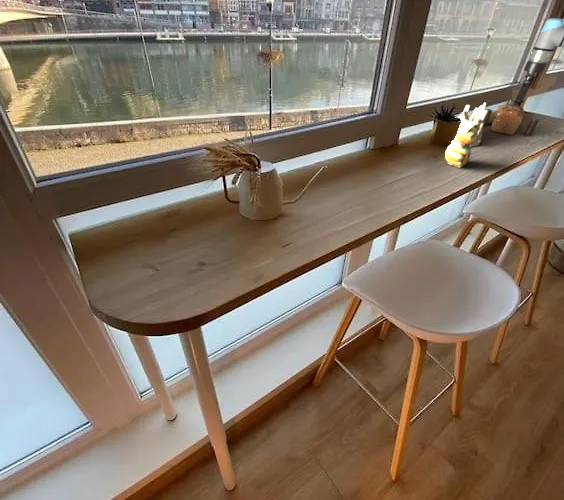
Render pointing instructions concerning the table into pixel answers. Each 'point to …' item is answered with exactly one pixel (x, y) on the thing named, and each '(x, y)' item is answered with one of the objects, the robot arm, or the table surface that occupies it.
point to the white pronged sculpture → (476, 116)
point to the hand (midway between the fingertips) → (511, 116)
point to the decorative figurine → (462, 145)
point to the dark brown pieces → (528, 131)
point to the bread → (507, 119)
